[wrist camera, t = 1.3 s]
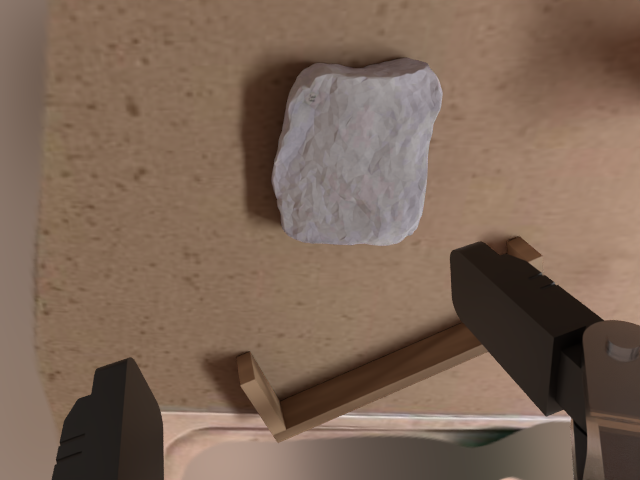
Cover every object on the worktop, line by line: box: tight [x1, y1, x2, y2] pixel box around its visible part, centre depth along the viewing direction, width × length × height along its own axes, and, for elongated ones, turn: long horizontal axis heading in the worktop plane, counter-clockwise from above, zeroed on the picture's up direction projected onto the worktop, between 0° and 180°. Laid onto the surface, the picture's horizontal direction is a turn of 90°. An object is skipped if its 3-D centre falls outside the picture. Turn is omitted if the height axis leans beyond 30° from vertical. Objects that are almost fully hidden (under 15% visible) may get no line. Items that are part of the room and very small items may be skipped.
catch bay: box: [236, 237, 544, 443], centre depth 40 cm, size 8×25×3 cm, turn 108°
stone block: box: [272, 58, 442, 246], centre depth 31 cm, size 12×5×10 cm
